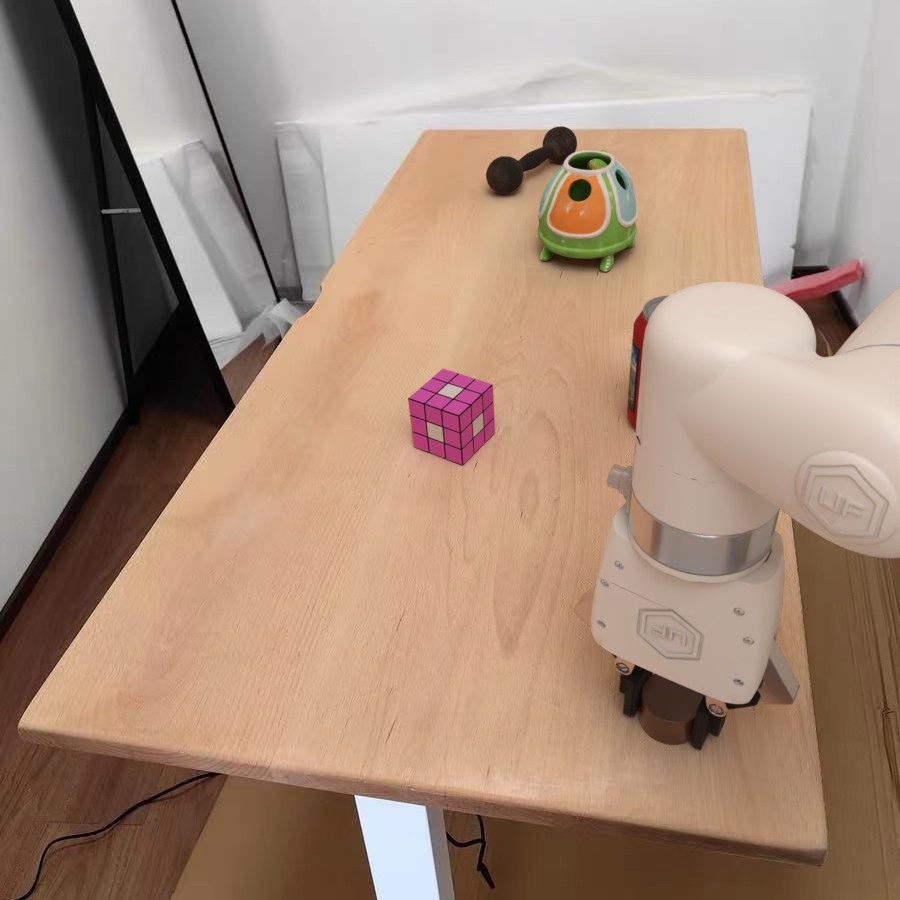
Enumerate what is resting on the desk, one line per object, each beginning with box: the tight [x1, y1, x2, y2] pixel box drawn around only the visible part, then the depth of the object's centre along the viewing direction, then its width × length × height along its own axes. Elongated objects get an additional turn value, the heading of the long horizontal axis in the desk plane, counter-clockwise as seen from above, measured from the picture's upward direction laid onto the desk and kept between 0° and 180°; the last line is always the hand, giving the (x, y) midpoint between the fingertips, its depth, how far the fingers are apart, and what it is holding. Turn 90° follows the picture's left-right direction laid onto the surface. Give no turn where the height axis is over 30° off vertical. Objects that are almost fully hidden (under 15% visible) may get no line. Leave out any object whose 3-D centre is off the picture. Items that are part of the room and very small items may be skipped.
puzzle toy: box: [407, 368, 496, 466], centre depth 81 cm, size 6×6×6 cm
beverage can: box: [627, 294, 670, 427], centre depth 79 cm, size 7×7×12 cm
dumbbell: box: [485, 125, 578, 195], centre depth 131 cm, size 20×5×5 cm, turn 141°
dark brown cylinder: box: [638, 673, 704, 746], centre depth 57 cm, size 4×4×2 cm
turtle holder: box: [536, 149, 639, 273], centre depth 110 cm, size 12×18×12 cm
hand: (670, 713), depth 57 cm, fingers closed on dark brown cylinder, 4 cm apart
